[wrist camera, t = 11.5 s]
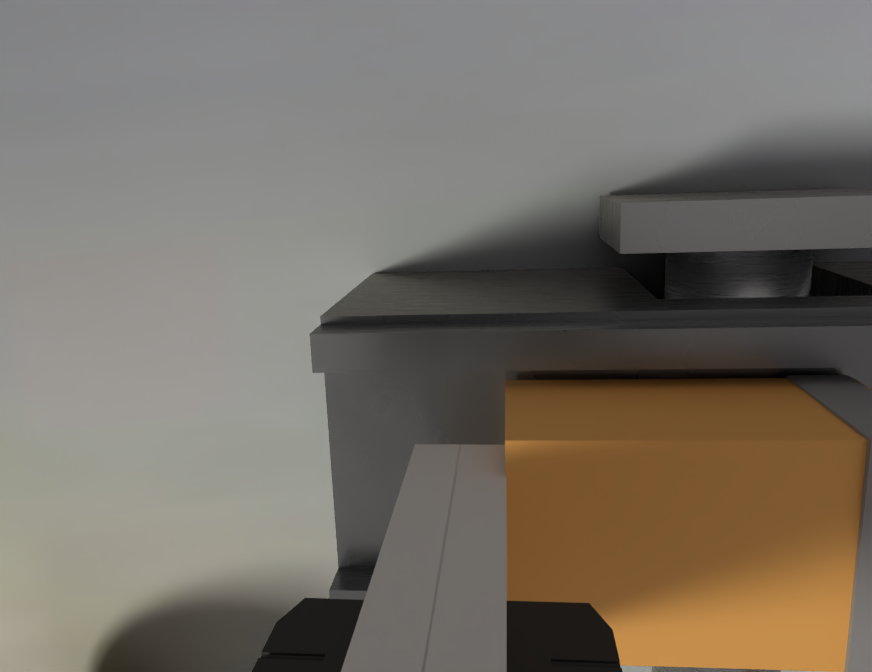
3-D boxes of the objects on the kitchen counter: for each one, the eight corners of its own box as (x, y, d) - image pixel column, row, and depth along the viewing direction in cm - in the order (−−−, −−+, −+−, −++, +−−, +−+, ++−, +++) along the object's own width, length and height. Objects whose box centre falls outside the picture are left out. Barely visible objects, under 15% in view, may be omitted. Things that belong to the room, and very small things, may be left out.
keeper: (505, 377, 13) (504, 439, 10) (852, 374, 13) (958, 439, 10) (508, 561, 14) (508, 669, 11) (834, 567, 14) (927, 681, 11)
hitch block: (372, 273, 19) (309, 325, 13) (952, 260, 18) (1187, 311, 12) (384, 489, 20) (332, 630, 14) (923, 493, 19) (1121, 650, 13)
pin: (600, 195, 18) (621, 202, 15) (843, 187, 17) (922, 193, 14) (594, 665, 21) (610, 760, 17) (801, 672, 20) (858, 771, 17)
